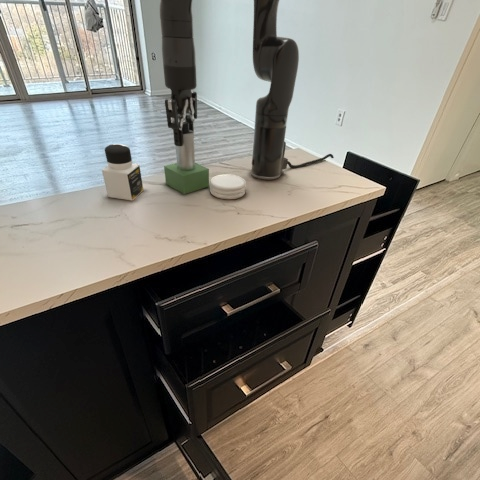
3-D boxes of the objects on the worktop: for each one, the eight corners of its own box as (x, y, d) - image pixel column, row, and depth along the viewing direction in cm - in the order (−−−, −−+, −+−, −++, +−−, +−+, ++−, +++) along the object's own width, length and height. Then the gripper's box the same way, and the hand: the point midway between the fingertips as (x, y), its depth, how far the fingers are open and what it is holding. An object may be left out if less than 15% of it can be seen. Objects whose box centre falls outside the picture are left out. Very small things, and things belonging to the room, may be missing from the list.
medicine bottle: (132, 201, 84) (123, 152, 76) (107, 197, 85) (95, 148, 76) (144, 190, 89) (136, 143, 81) (120, 187, 90) (110, 140, 81)
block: (190, 177, 98) (189, 159, 94) (209, 186, 93) (208, 168, 90) (165, 184, 93) (163, 166, 90) (184, 194, 89) (182, 175, 85)
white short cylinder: (225, 203, 86) (225, 190, 83) (203, 191, 91) (202, 178, 88) (252, 194, 91) (253, 181, 88) (229, 183, 96) (229, 171, 93)
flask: (188, 163, 92) (185, 119, 84) (198, 168, 90) (196, 123, 82) (173, 166, 90) (169, 122, 82) (184, 172, 87) (181, 126, 79)
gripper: (181, 67, 68) (186, 151, 79) (205, 61, 78) (207, 137, 89) (149, 64, 69) (159, 147, 81) (177, 58, 79) (182, 133, 91)
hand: (184, 141), depth 85 cm, fingers open, 6 cm apart
